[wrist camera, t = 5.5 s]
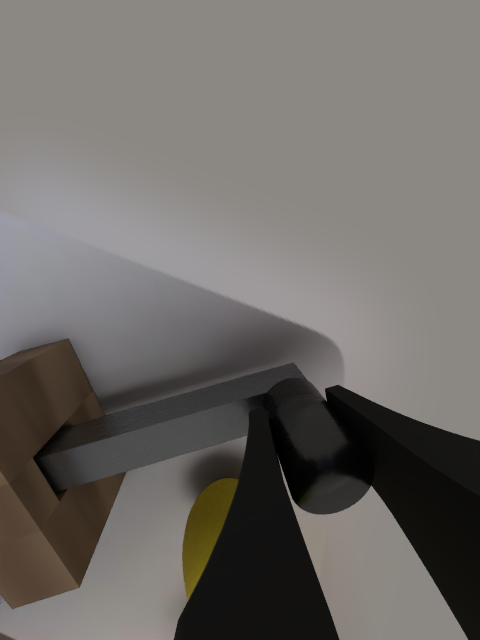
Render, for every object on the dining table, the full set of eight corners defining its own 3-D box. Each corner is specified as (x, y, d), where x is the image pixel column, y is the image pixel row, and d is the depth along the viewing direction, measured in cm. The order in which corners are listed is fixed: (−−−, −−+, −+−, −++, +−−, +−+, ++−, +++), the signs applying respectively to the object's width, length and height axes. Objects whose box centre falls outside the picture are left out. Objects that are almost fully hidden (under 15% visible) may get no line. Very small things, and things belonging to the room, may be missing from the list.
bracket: (87, 477, 17) (12, 608, 10) (18, 352, 14) (-140, 427, 8) (129, 465, 17) (79, 587, 10) (68, 338, 14) (-48, 401, 8)
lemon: (216, 440, 17) (219, 588, 9) (274, 470, 18) (318, 620, 11) (175, 493, 18) (147, 670, 10) (233, 518, 19) (248, 691, 11)
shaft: (50, 472, 13) (-83, 646, 7) (25, 431, 12) (-147, 588, 6) (307, 397, 14) (378, 499, 8) (299, 354, 13) (370, 431, 7)
